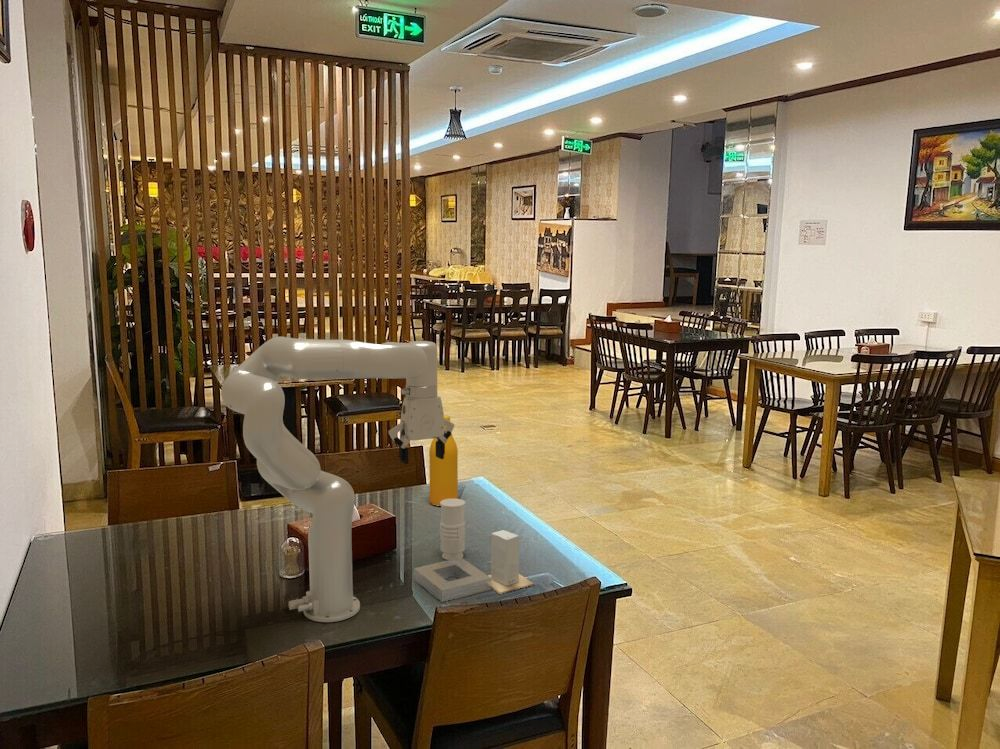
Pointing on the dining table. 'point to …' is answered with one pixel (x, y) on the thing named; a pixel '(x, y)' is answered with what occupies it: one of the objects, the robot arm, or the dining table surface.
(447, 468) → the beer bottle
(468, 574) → the white rectangular frame
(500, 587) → the wooden coaster
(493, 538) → the skincare box
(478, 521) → the dining table surface
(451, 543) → the white ribbed canister
